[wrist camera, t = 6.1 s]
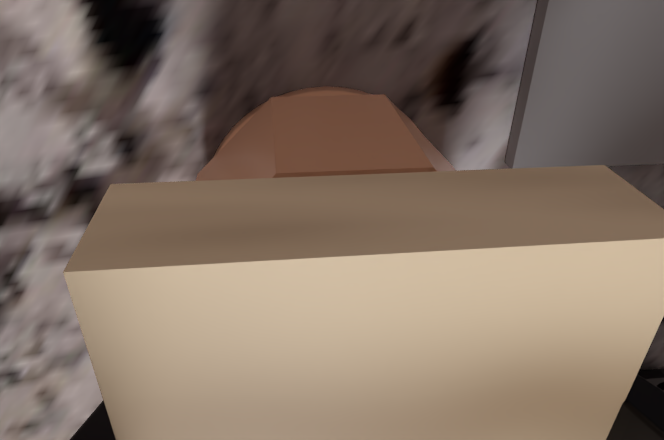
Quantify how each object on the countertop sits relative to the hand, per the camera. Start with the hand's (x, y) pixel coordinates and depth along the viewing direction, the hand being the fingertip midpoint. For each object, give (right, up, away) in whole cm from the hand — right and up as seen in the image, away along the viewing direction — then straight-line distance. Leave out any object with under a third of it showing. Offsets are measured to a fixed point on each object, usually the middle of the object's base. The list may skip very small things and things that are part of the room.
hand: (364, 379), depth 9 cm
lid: (0, 0, 0) cm, 1 cm away
